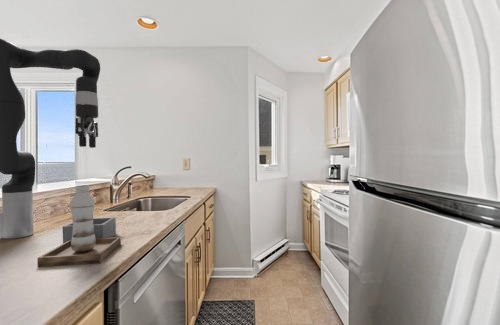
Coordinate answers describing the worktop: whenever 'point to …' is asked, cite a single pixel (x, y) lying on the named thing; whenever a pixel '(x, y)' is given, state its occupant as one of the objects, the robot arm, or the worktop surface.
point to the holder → (101, 228)
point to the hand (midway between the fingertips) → (87, 147)
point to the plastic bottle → (82, 220)
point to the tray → (79, 253)
